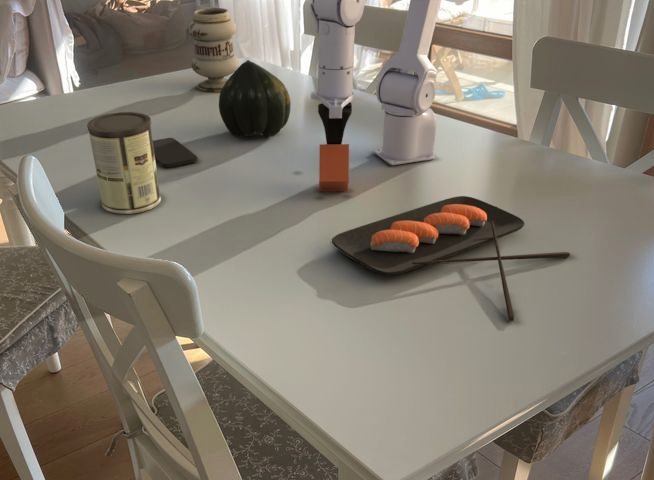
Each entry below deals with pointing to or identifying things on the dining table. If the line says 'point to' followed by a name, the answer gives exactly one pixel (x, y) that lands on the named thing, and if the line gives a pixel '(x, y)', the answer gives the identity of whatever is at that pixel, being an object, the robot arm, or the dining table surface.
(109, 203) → the coffee can
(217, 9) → the apothecary jar
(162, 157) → the phone
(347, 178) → the orange open-ended box
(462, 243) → the sushi plate
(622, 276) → the dining table surface
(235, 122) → the squash
